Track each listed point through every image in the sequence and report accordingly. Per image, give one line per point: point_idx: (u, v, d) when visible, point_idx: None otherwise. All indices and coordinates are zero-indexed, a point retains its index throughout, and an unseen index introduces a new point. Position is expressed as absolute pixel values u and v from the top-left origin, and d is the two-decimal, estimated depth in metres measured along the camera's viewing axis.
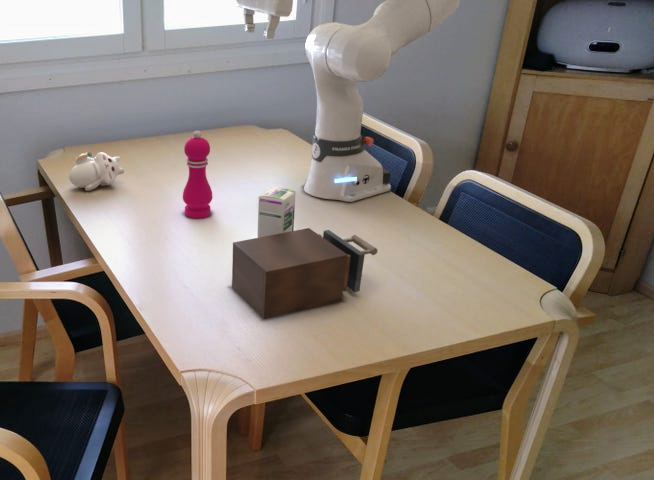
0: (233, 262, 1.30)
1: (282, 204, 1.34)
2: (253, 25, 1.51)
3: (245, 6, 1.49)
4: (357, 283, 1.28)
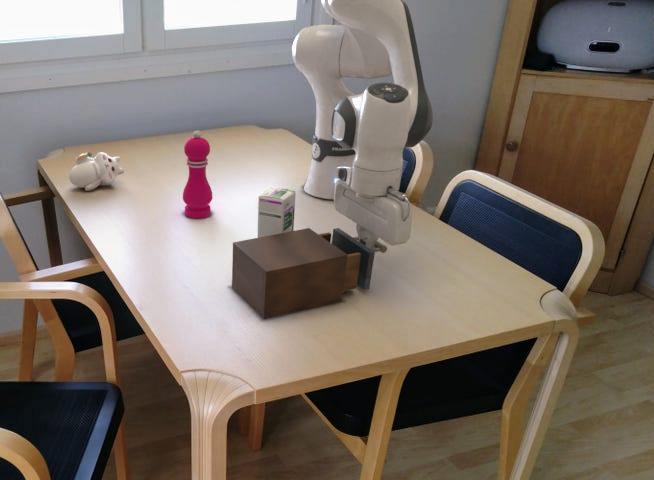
0: (233, 262, 1.30)
1: (282, 204, 1.34)
2: None
3: (348, 217, 1.33)
4: (367, 281, 1.29)
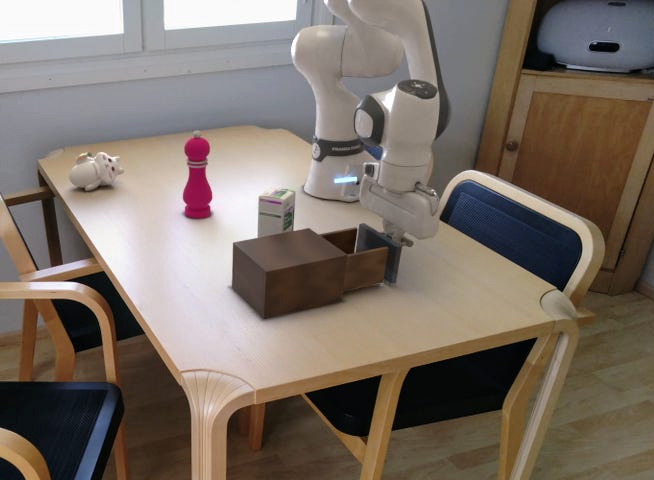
0: (233, 262, 1.30)
1: (282, 204, 1.34)
2: None
3: (374, 212, 1.34)
4: (394, 275, 1.30)
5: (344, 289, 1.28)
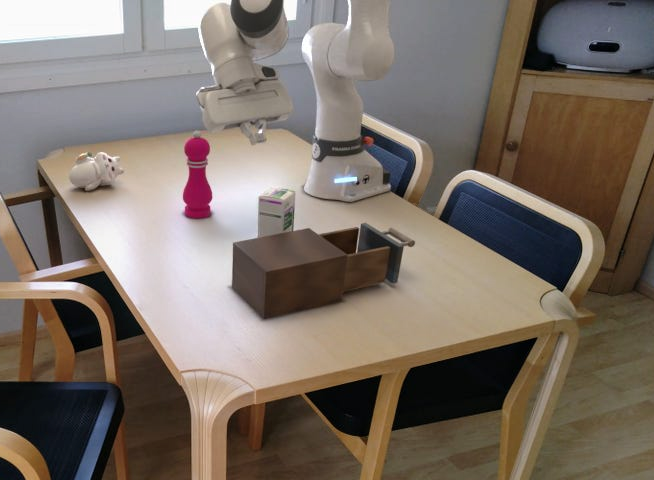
0: (233, 262, 1.30)
1: (282, 204, 1.34)
2: None
3: None
4: (395, 274, 1.30)
5: (346, 289, 1.29)
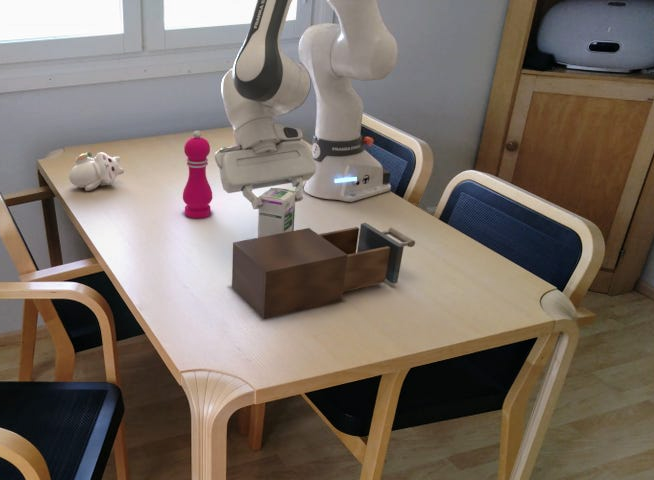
0: (233, 262, 1.30)
1: (283, 204, 1.33)
2: None
3: None
4: (395, 274, 1.30)
5: (346, 289, 1.29)
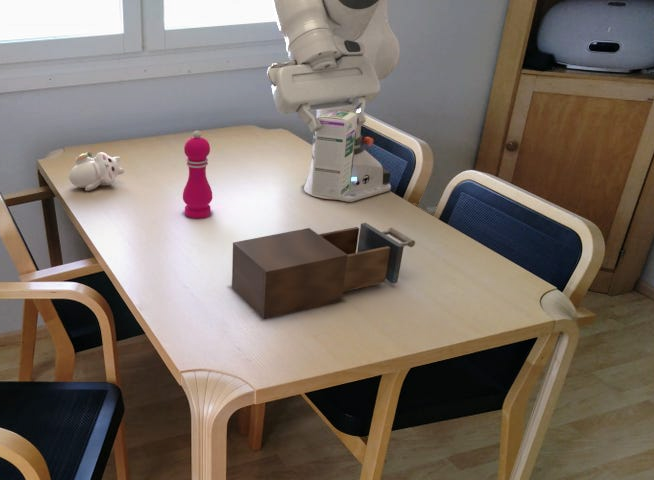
0: (233, 262, 1.30)
1: (345, 125, 1.18)
2: None
3: None
4: (395, 274, 1.30)
5: (346, 289, 1.29)
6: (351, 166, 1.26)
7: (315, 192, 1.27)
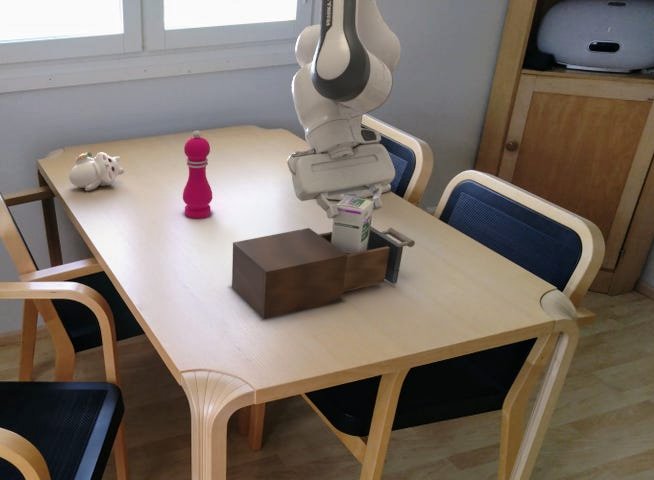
0: (233, 262, 1.30)
1: (362, 213, 1.23)
2: None
3: None
4: (395, 275, 1.30)
5: (345, 289, 1.29)
6: (367, 248, 1.31)
7: None
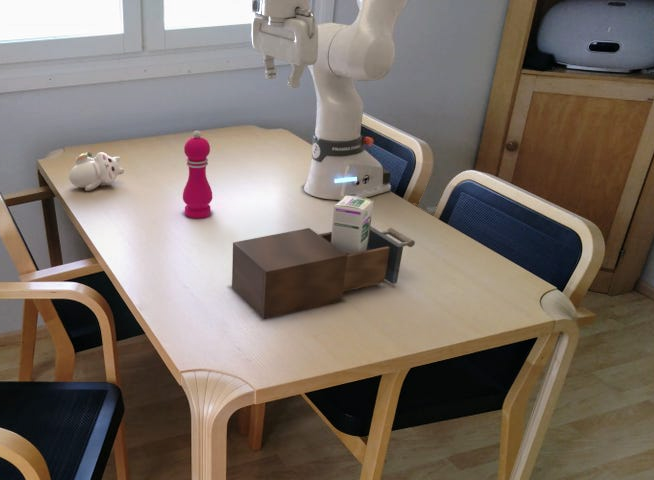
0: (233, 262, 1.30)
1: (361, 214, 1.23)
2: (274, 70, 1.37)
3: (264, 52, 1.35)
4: (395, 275, 1.30)
5: (345, 289, 1.29)
6: (367, 248, 1.31)
7: None
